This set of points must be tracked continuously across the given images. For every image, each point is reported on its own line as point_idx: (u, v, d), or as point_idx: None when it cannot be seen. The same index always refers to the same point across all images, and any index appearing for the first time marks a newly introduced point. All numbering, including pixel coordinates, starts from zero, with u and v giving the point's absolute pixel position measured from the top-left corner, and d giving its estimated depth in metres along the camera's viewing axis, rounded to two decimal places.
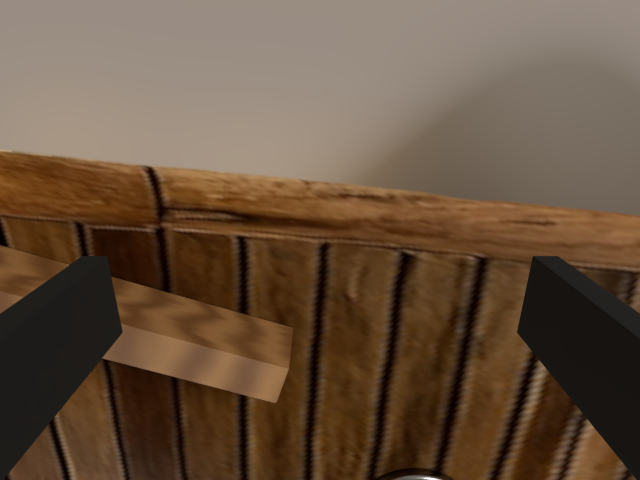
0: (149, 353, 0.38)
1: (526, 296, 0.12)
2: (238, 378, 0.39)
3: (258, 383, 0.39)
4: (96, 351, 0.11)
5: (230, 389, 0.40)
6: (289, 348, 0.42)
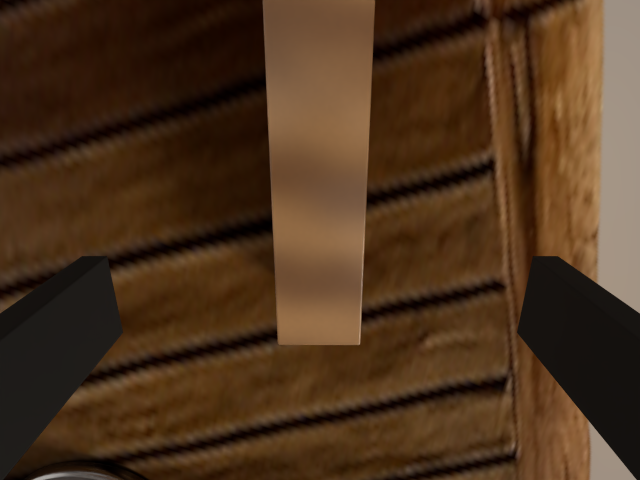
0: (312, 83, 0.17)
1: (526, 296, 0.12)
2: (311, 271, 0.20)
3: (312, 308, 0.21)
4: (96, 351, 0.11)
5: (279, 264, 0.20)
6: None
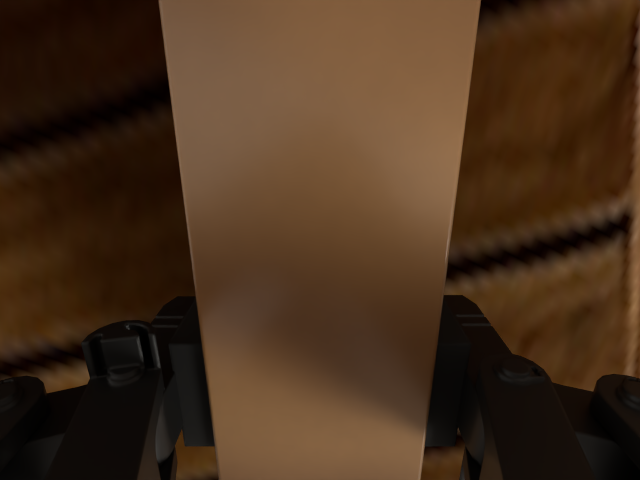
0: (302, 71, 0.06)
1: None
2: None
3: None
4: None
5: None
6: None
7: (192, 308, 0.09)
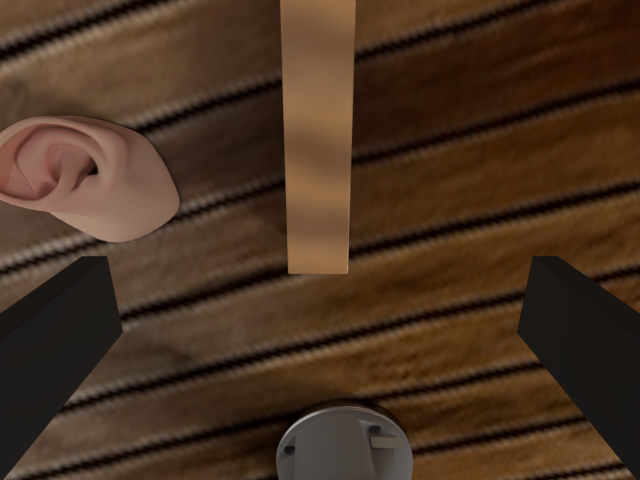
0: (314, 84, 0.25)
1: (526, 296, 0.12)
2: (312, 217, 0.28)
3: (313, 245, 0.29)
4: (96, 351, 0.11)
5: (290, 212, 0.28)
6: None
7: None
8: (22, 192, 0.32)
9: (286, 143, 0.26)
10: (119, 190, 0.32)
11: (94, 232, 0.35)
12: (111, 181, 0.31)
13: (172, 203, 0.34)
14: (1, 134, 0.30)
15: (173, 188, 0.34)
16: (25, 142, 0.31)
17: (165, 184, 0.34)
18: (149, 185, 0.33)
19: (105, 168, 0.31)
